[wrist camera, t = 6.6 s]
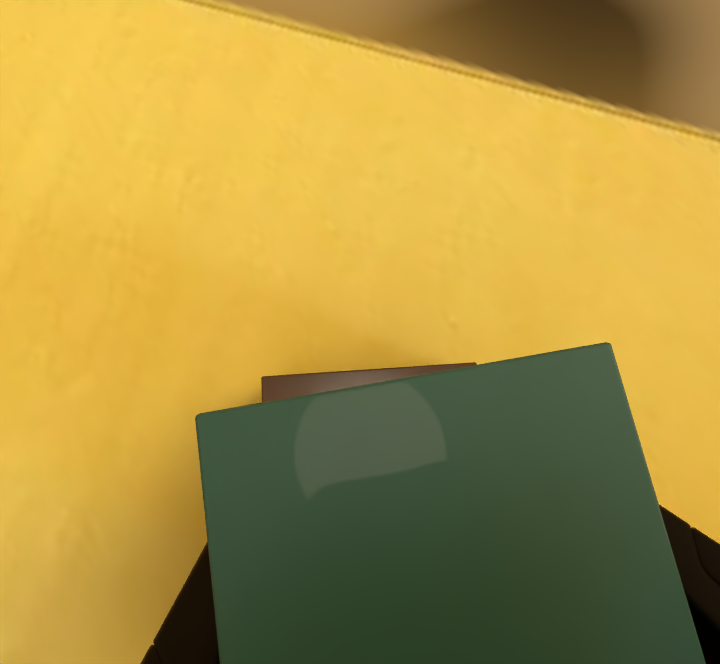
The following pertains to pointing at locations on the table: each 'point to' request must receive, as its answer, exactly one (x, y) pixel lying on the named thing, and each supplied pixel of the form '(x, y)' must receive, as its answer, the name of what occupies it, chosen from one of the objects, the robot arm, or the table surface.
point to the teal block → (443, 523)
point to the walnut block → (340, 380)
